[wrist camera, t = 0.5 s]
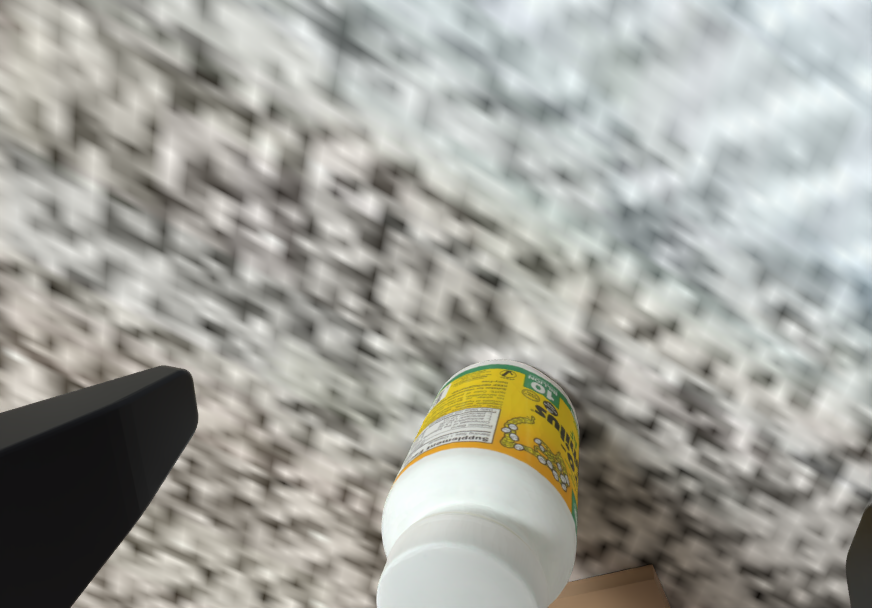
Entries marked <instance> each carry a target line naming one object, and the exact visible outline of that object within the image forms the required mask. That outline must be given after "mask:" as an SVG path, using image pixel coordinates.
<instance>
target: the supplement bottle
mask: <svg viewBox="0 0 872 608" xmlns="http://www.w3.org/2000/svg"><path fill="white" fill-rule="evenodd" d="M578 466H579V424H578V420H577V416H576V413H575V410H574V407H573V405H572V403H571V401H570V399H569V397H568V396H567V395H566V393H565V392H564V391H563V389H562V388H561V387H560V386H559V385H558V384H556V383H555V382H554V381H553V380H551V379H550V378H549V377H547V376H546V375H544V374H543V373H541V372H540V371H538V370H537V369H535V368H533V367H531V366H529V365H526V364H523V363H520V362H516V361H512V360H505V359H500V360H488V361H483V362H479V363H476V364H473V365H470V366H468V367H466V368H464V369H462V370H461V371H459V372H458V373H456V374H455V375H454V376H452V377H451V378H450V379H449V380H448V381H447V382H446V383H445V384H444V386H443V387H442V388H441V390H440V391H439V393H438V395H437V397H436V398H435V400H434V402H433V404H432V406H431V408H430V410H429V412H428V414H427V416H426V418H425V420H424V422H423V424H422V426H421V428H420V430H419V432H418V434H417V436H416V438H415V440H414V443H413V445H412V447H411V449H410V451H409V453H408V455H407V457H406V459H405V461H404V463H403V465H402V467H401V469H400V471H399V473H398V475H397V477H396V479H395V481H394V484H393V486H392V488H391V490H390V492H389V495H388V497H387V499H386V503H385V506H384V510H383V516H382V540H383V545H384V550H385V553H386V556H387V563H386V565H385V567H384V570H383V572H382V575H381V577H380V581H379V584H378V587H377V608H548V606H549V605H550V604H551V603H552V602H553V601H555V599H556V598H557V597H558V596H559V594H560V593H561V592H562V590H563V589H564V587H565V586H566V584H567V582H568V580H569V578H570V575H571V573H572V570H573V566H574V562H575V556H576V547H577V507H578Z"/></svg>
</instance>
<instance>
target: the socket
mask: <svg viewBox="0 0 872 608" xmlns="http://www.w3.org/2000/svg"><path fill="white" fill-rule="evenodd" d="M548 608H671V607H670V605H669V603H668V600H667V598H666V595H665V593H664V591H663V588H662V586H661V583H660V581H659V579H658V576H657V574H656V571H655V569H654V567H653V564H651V565H647V566H642V567H637V568H633V569H628V570H623V571H619V572H614V573H610V574H605V575H600V576H596V577H591V578H586V579H582V580H577V581H572V582H568V583H567V584H566V586H565V587H564V589H563V590H562V592H561V593H560V594H559V596H558V597H557V598H556V599H555V601H553V602H552V603H551V604H550V605H549V606H548Z"/></svg>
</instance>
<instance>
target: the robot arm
mask: <svg viewBox="0 0 872 608" xmlns="http://www.w3.org/2000/svg"><path fill="white" fill-rule="evenodd" d="M197 424H198V410H197V403H196V396H195V390H194V383H193V378H192V376H191V374H190V372H188V371H187V370H185V369H181V368H176V367H171V366H158V367H154V368H151V369H148V370H144V371H141V372H137V373H134V374H131V375H127V376H124V377H121V378H117V379H114V380H110V381H107V382H104V383H100V384H97V385H93V386H90V387H87V388H83V389H80V390H77V391H73V392H70V393H66V394H63V395H60V396H56V397H53V398H50V399H46V400H43V401H39V402H36V403H33V404H29V405H26V406H22V407H19V408H16V409H12V410H9V411H6V412H2V413H0V608H71V606H72V605H73V604H74V602H75V601H76V600H77V599H78V597H79V596H80V595H81V593H82V592H83V591H84V590H85V588H86V587H87V586H88V584H89V583H90V582H91V581H92V579H93V578H94V577H95V575H96V574H97V573H98V572H99V570H100V569H101V568H102V566H103V565H104V564H105V563H106V561H107V560H108V559H109V557H110V556H111V555H112V554H113V552H114V551H115V550H116V549H117V547H118V546H119V545H120V543H121V542H122V541H123V540H124V538H125V537H126V536H127V534H128V533H129V532H130V531H131V529H132V528H133V527H134V525H135V524H136V522H137V521H138V520H139V518H140V517H141V516H142V514H143V513H144V511H145V510H146V508H147V507H148V505H149V504H150V502H151V501H152V499H153V498H154V496H155V494H156V493H157V491H158V490H159V488H160V487H161V485H162V483H163V482H164V480H165V479H166V477H167V475H168V474H169V472H170V471H171V469H172V468H173V466H174V464H175V463H176V461H177V460H178V458H179V457H180V455H181V453H182V452H183V450H184V449H185V447H186V445H187V444H188V442H189V441H190V439H191V438H192V436H193V434H194V432H195V430H196V428H197ZM846 577H847V584H848V590H849V597H850V604H851V608H872V503H871V504H869V505H868V507H867V508H866V509H865V511H864V513H863V516H862V518H861V521H860V523H859V526H858V528H857V531H856V534H855V536H854V539H853V541H852V544H851V546H850V549H849V552H848V555H847V560H846Z"/></svg>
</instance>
